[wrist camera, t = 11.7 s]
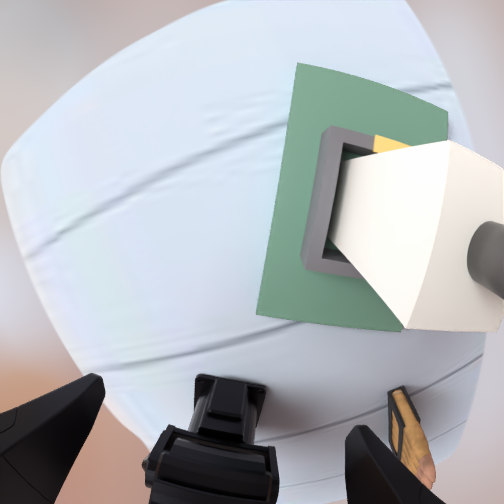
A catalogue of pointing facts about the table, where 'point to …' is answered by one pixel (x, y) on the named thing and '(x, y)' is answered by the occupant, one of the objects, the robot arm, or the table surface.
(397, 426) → the ammunition clip
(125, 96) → the table surface
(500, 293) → the plug block
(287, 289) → the header board
